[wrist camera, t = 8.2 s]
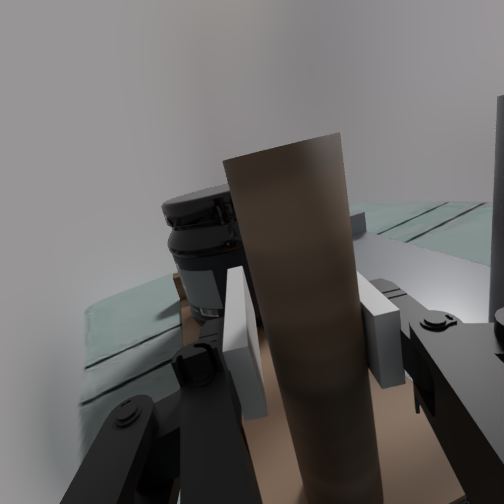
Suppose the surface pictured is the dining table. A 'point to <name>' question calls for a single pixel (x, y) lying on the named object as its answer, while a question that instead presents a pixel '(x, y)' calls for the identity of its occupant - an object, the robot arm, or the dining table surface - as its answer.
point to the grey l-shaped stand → (441, 260)
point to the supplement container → (207, 249)
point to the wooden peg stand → (320, 346)
